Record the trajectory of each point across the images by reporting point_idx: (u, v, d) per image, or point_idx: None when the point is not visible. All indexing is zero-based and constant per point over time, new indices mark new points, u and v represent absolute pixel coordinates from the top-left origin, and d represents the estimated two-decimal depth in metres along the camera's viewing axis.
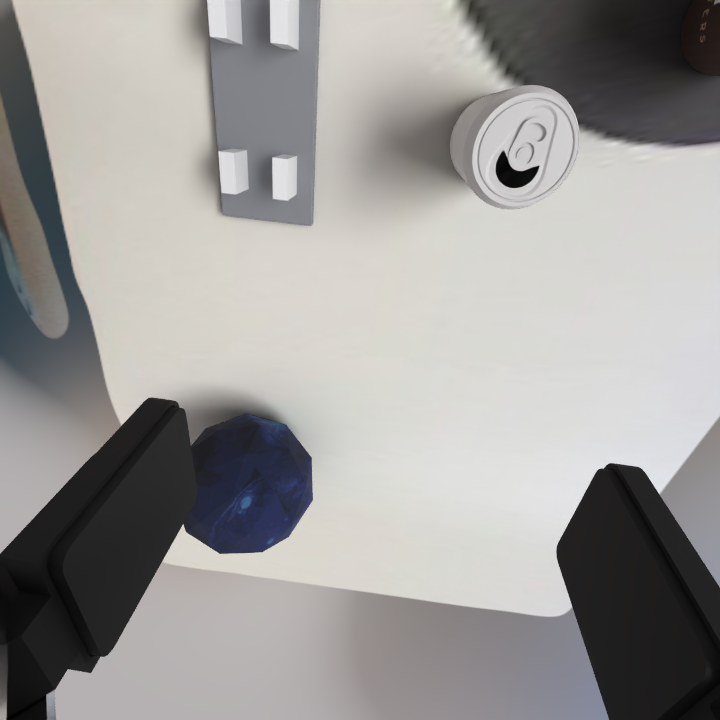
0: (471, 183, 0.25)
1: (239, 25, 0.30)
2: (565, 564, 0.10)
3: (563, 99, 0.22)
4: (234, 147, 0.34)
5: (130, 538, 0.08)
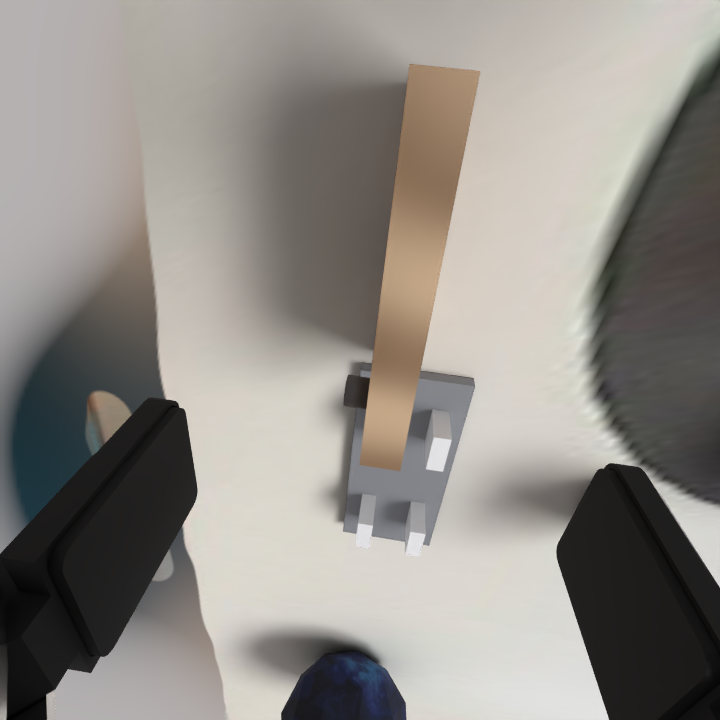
0: None
1: None
2: (565, 564, 0.10)
3: None
4: (364, 493, 0.36)
5: (130, 538, 0.08)
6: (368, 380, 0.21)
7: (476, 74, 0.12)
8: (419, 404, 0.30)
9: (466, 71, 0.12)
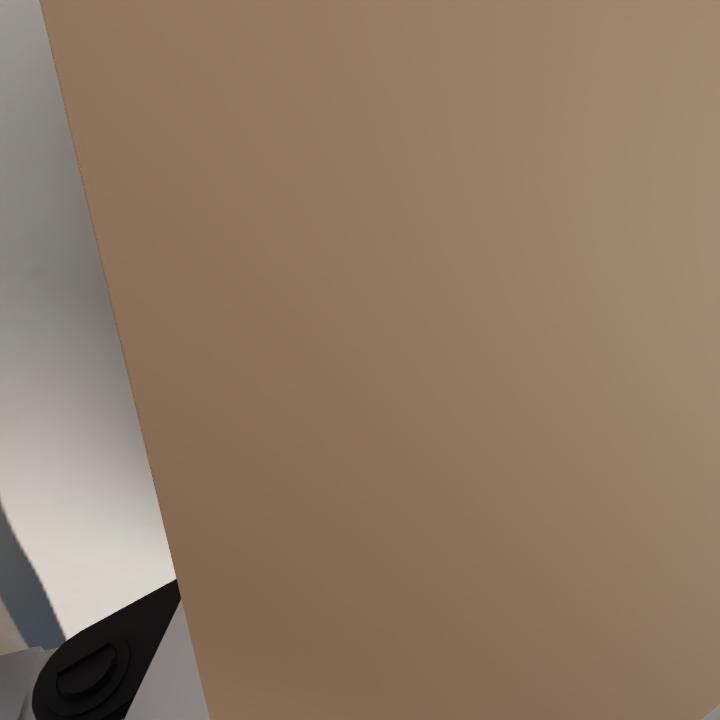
0: None
1: None
2: None
3: None
4: None
5: None
6: None
7: None
8: None
9: None
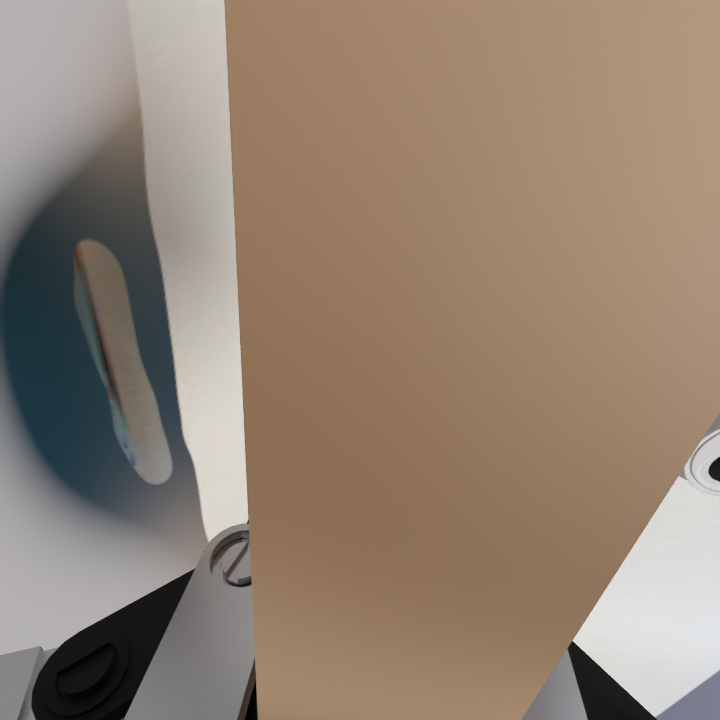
0: None
1: None
2: None
3: None
4: None
5: None
6: None
7: None
8: None
9: None
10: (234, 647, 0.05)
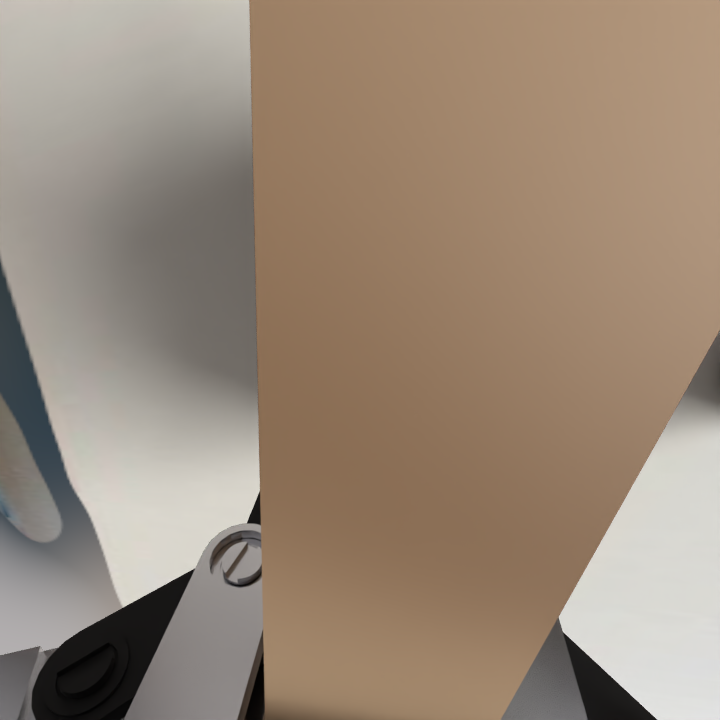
0: None
1: None
2: None
3: None
4: None
5: None
6: None
7: None
8: None
9: None
10: (234, 647, 0.05)
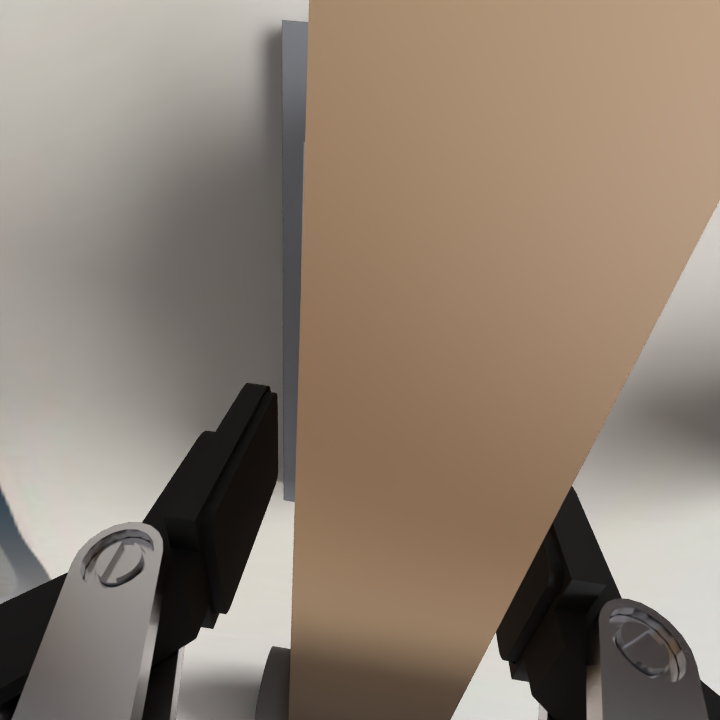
0: None
1: None
2: None
3: None
4: None
5: (244, 508, 0.08)
6: None
7: None
8: None
9: None
10: (121, 640, 0.05)
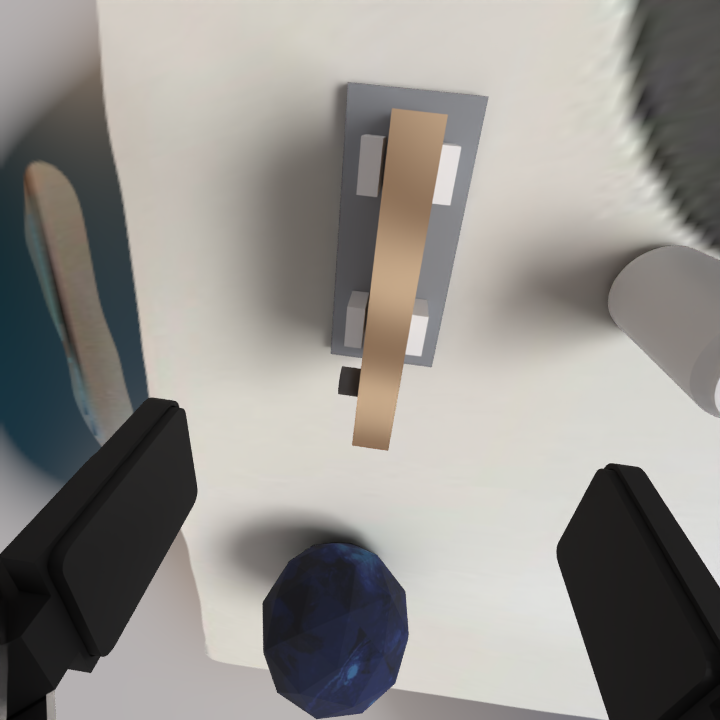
0: (697, 396, 0.21)
1: (382, 172, 0.26)
2: (565, 564, 0.10)
3: None
4: (354, 289, 0.30)
5: (130, 538, 0.08)
6: (360, 371, 0.23)
7: (445, 117, 0.15)
8: None
9: (437, 114, 0.15)
10: None
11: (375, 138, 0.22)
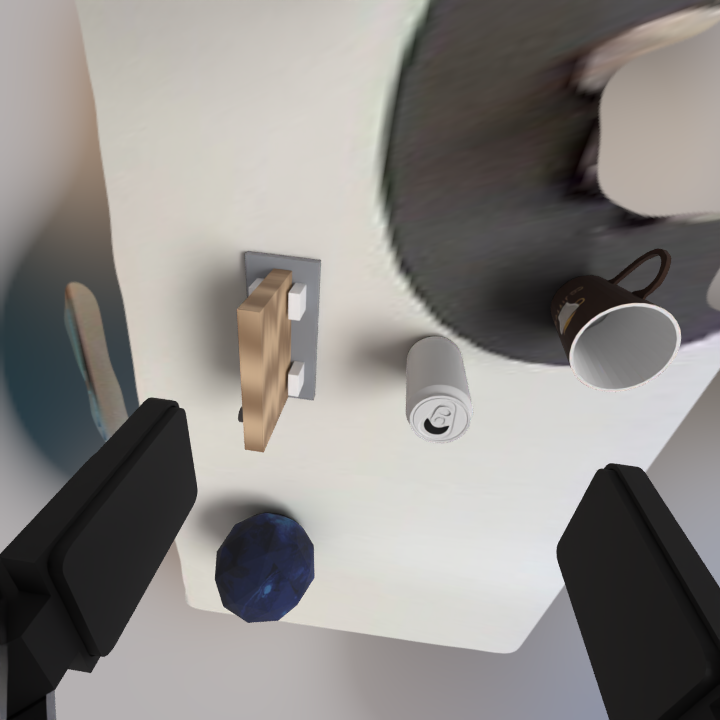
0: None
1: None
2: (565, 564, 0.10)
3: (461, 393, 0.39)
4: None
5: (130, 538, 0.08)
6: None
7: (259, 313, 0.35)
8: None
9: (255, 312, 0.35)
10: None
11: (255, 288, 0.43)
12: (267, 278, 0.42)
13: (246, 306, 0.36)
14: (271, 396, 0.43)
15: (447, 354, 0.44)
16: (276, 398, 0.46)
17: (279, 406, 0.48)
